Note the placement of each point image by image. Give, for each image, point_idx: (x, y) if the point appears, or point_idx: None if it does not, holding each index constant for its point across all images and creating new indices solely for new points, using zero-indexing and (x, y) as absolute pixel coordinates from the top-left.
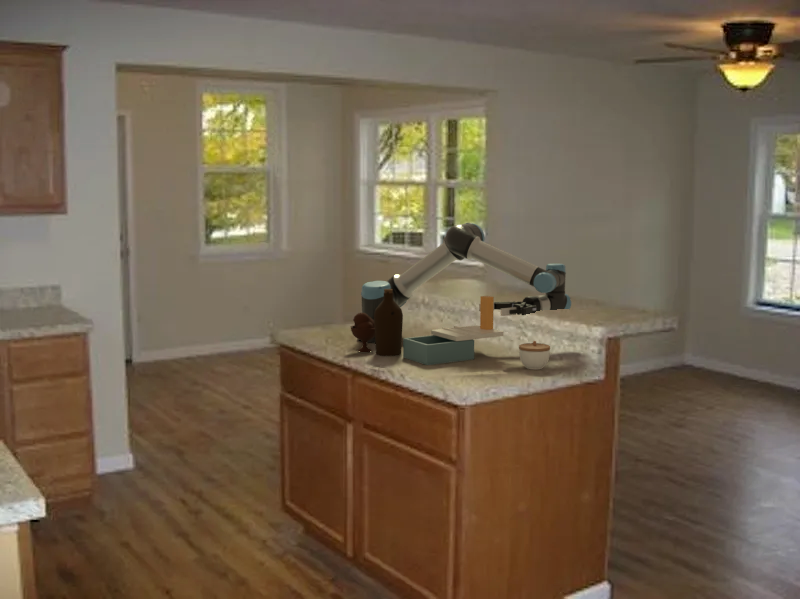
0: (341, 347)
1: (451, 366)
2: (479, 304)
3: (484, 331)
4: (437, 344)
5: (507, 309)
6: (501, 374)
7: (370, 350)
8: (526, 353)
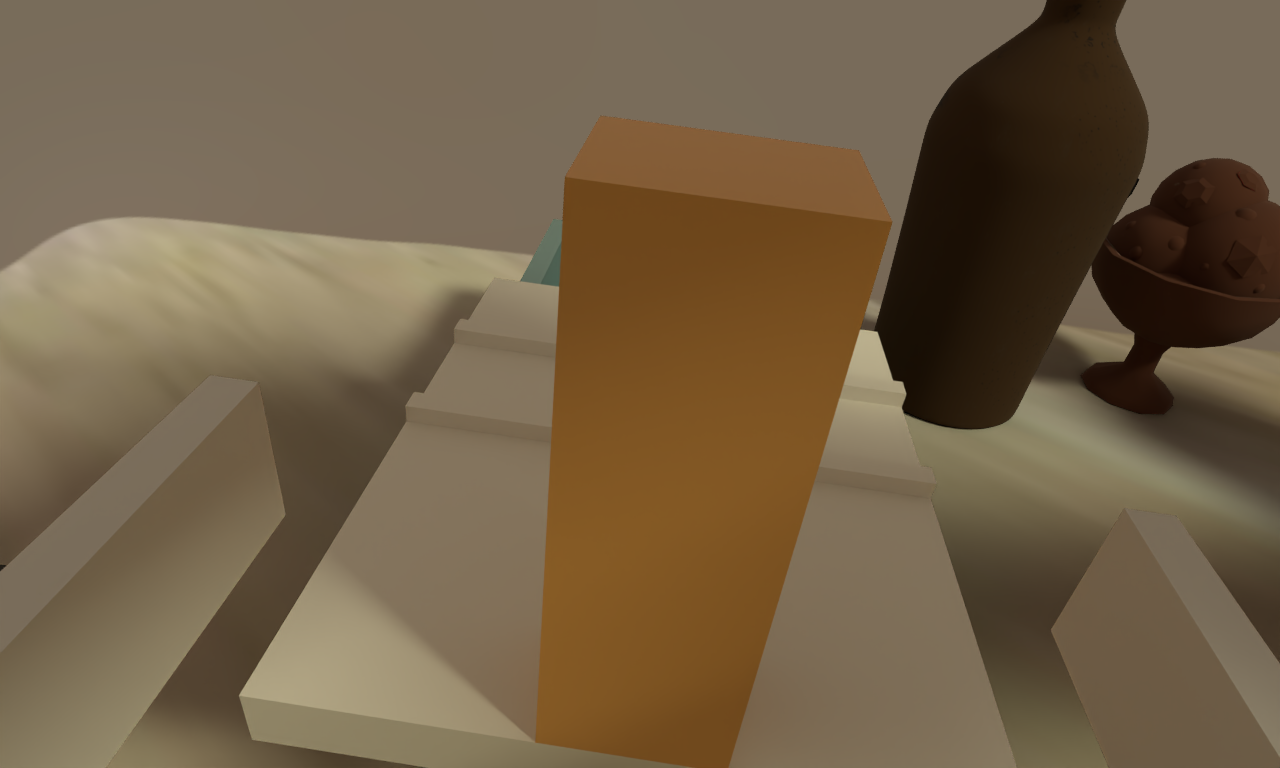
0: (1271, 384)
1: None
2: (1154, 520)
3: (491, 532)
4: (537, 252)
5: (105, 506)
6: (24, 439)
7: (1104, 389)
8: None
